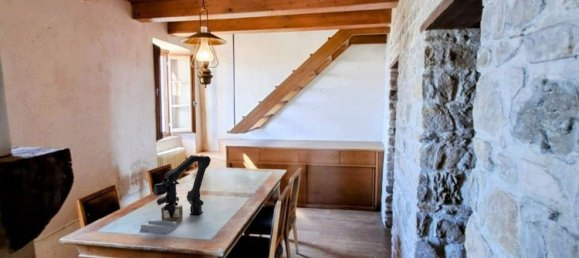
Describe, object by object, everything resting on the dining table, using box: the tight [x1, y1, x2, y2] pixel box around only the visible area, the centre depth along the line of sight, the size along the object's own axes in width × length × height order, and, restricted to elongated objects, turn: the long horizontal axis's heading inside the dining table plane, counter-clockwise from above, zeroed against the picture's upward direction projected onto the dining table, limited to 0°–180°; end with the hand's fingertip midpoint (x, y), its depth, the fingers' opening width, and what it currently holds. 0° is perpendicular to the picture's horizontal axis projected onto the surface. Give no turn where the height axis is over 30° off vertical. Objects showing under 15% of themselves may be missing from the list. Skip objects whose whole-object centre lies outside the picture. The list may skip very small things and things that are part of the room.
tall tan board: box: [160, 204, 184, 222], centre depth 198 cm, size 12×3×9 cm, turn 101°
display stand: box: [139, 219, 179, 234], centre depth 185 cm, size 18×10×3 cm, turn 76°
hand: (172, 216), depth 198 cm, fingers open, 5 cm apart
